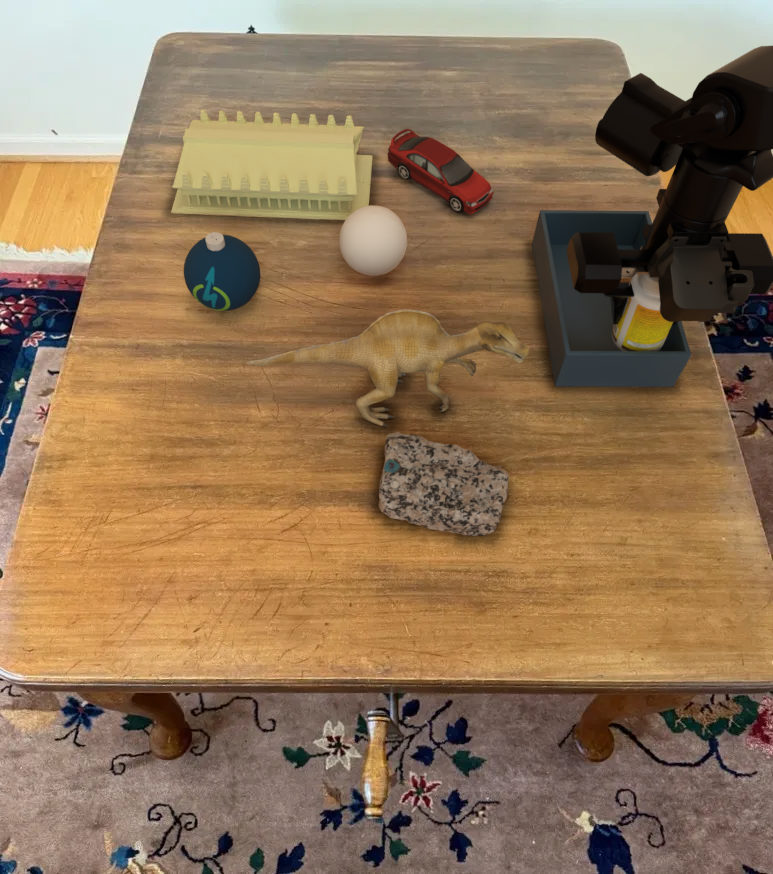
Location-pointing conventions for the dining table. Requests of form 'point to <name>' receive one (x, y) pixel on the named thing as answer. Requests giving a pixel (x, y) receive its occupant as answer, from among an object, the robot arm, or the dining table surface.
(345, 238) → the ball
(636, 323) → the supplement bottle
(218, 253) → the christmas ornament
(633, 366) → the storage tote
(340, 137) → the model building
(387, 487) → the rock
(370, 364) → the dinosaur figurine
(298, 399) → the dining table surface
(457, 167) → the toy car
